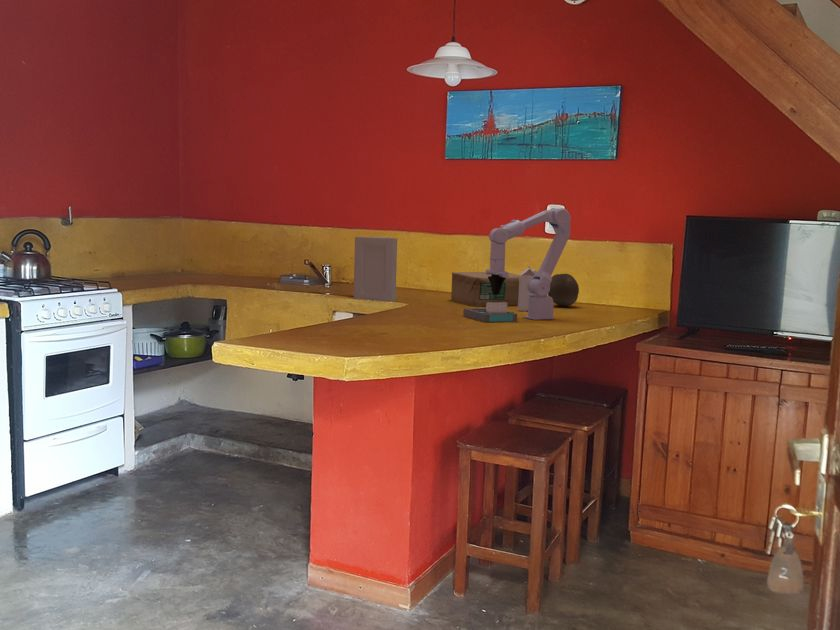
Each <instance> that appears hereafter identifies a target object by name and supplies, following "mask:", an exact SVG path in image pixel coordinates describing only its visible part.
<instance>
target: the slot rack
mask: <svg viewBox="0 0 840 630" xmlns="http://www.w3.org/2000/svg"><path fill="white" fill-rule="evenodd" d="M462 316H463V317H465V318H468V319H472V320H475V321H478V322H482V323H515V322H516V323H517V322H518V313H516V312H514V311H510V310H507V313H488V314H486V307H474V308H463V312H462Z"/></svg>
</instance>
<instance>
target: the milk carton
mask: <svg viewBox="0 0 840 630" xmlns="http://www.w3.org/2000/svg"><path fill="white" fill-rule="evenodd" d="M536 272H537V270H535V269H534V268H532V269H531V266H530V265H527V268H526V269H525V270H523V271H522V272H521V273H519V274H518V275H519V296H518V305H517V310H518V311H519V312H520V311H521V312H528V304H529V293H530V292H529V291H528V288H527V284H528V282H529V281H530V280H531V279H532V278H533V276H534V274H535V273H536Z"/></svg>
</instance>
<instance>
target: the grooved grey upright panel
mask: <svg viewBox="0 0 840 630" xmlns="http://www.w3.org/2000/svg"><path fill="white" fill-rule="evenodd" d="M397 260H398V238H396V237H395V238H394V237H389V236H388V237H385V236H355V237H354V262H353V263H354V264H353V265H354V266H353V267H354V268H353V270H354V271H353V299H355V300H370V301H382V302H383V301H384V302H395V301H396V297H397V292H396V291H397V266H398V265H397V262H398V261H397Z"/></svg>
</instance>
